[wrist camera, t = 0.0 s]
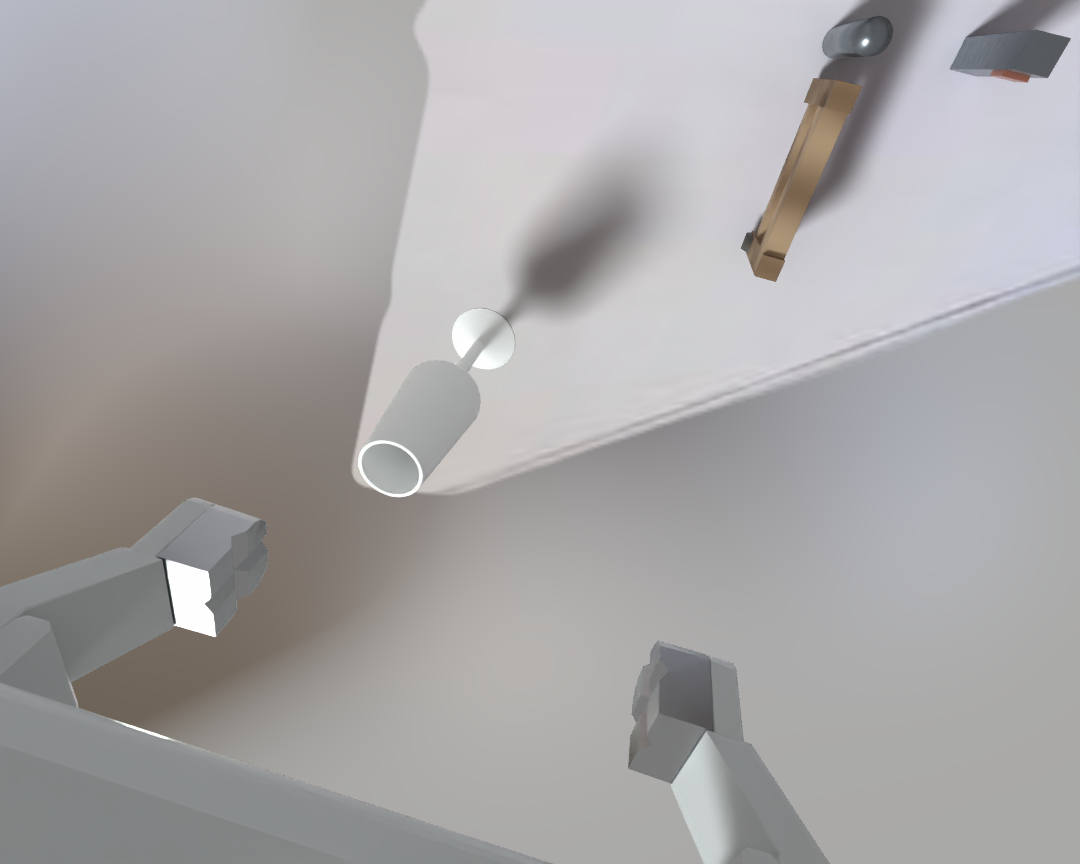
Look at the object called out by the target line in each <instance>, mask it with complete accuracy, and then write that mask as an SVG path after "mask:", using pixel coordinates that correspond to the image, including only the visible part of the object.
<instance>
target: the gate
mask: <svg viewBox="0 0 1080 864" xmlns="http://www.w3.org/2000/svg"><path fill="white" fill-rule="evenodd" d="M861 88H862V86H859V85H855V84H851V83H847V82H843V81H839V80H830V79H816V78H813V81H812V83H811V86H810V88H809V91H808V93H807V96H806V98H805V101H804V102H805V103H809V105H808V107H807V109H806V112H805V114H804V117H803V119H802V122H801V124H800V127H799V129H798V132H797V134H796V137H795V139H794V142H793V144H792V146H791V149H790V151H789V154H788V156H787V159H786V161H785V164H784V166H783V169H782V171H781V174H780V176H779V179H778V181H777V183H776V186H775V188H774V191H773V193H772V196H771V198H770V201H769V203H768V206H767V208H766V211H765V213H764V216H763V218H762V220H761V223H760V225H759V228H758V230H757V232H755V231H752V233H747V234H746V236H745V239H744V241H743V244H742V246H741V249H742V250H744V251H746V253H747V256H748V259H749V262H750V264H751V267H752V270H753V272H754V275H755V276H756V277H760V278H764V279H767V280H771V281H775V282H776V280H777V278H778V276H779V273H780V271H781V269H782V267H783V264H784V262H785V260H784V258H785V256H786V254H787V251H788V249H789V247H790V244H791V242H792V240H793V238H794V235H795V233H796V231H797V229H798V226H799V224H800V222H801V219H802V217H803V215H804V213H805V210H806V208H807V206H808V204H809V201H810V199H811V197H812V195H813V192H814V190H815V188H816V185H817V183H818V181H819V179H820V176H821V174H822V172H823V170H824V167H825V165H826V163H827V160H828V158H829V156H830V154H831V151H832V149H833V147H834V145H835V142H836V140H837V138H838V135H839V133H840V131H841V129H842V126H843V124H844V122H845V120H846V117H847V115H848V114H850V113H851V111H852V108H853V106H854V104H855V102H856V99H857V97H858V95H859V92H860V90H861Z"/></svg>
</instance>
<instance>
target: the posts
mask: <svg viewBox="0 0 1080 864" xmlns="http://www.w3.org/2000/svg"><path fill="white" fill-rule="evenodd" d="M892 34H893V28H892V24H891V22H890V21H889V20H888V19H887V18H885V17H882V16H876V17H872V18H868V19H864V20H860V21H857V22H853V23H849V24H845V25H841V26H837V27H835V28H833V29H831V30H830V31H829V32H828V33H827V34H826V36H825V37H824V40H823V44H822V48H823V52H824V54H825V55H826V56H827V57H829V58H848V57H864V56H874V55H877V54H879V53H880V52H882V51H883V50H884V49H885V48H886V47H887V46H888V44H889V43H890V41H891V38H892ZM1070 39H1071V38H1067V37H1063V36H1059V35H1055V34H1051V33H1047V32H1043V31H1039V30H1029V31H1019V32H1010V33H1001V34H991V35H982V36H973V37H966V38H965V40H964V42H963V44H962V46H961V48H960V50H959V52H958V54H957V56H956V58H955V60H954V62H953V64H952V66H951V68H950V69H951V70H955V71H959V72H963V73H967V74H970V75H974V76H989V77H998V78H1001V79H1005V80H1009V81H1013V82H1028V80H1029V78H1048V77H1049V75H1050V73H1051V72H1052V70H1053V68H1054V67H1055V65H1056V63H1057V61H1058V60H1059V58H1060V56H1061V55H1062V53H1063V51H1064V49H1065V48H1066V46H1067V44H1068V43H1069V41H1070Z"/></svg>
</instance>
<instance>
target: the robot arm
mask: <svg viewBox="0 0 1080 864" xmlns="http://www.w3.org/2000/svg"><path fill="white" fill-rule="evenodd" d="M266 535H267V526H266V522H265V521H263V520H261V519H258V518H255V517H253V516H250V515H247V514H244V513H241V512H238V511H235V510H232V509H229V508H226V507H223V506H220V505H216V504H213V503H210V502H207V501H204V500H201V499H198V498H194V497H193V498H191V499H188V500H186V501H184V502H183V503H182V504H181V505H179V506H178V507H177V508H176V509H175V510H174V511H172V512H171V513H170V514H169V515H168V516H167V517H166V518H164V519H163V520H162V521H161V522H160V523H159V524H157V525H156V526H155V527H154V528H153V529H152V530H151V531H149V532H148V533H147V534H146V535H145V536H144V537H143V538H141V539H140V540H139V541H138V542H137V543H136V544H135V545H133V546H132V547H131V548H130V549H128V548H125V547H121V548H118V549H114V550H111V551H108V552H105V553H102V554H99V555H96V556H93V557H90V558H87V559H84V560H81V561H78V562H75V563H72V564H68V565H65V566H62V567H59V568H56V569H53V570H50V571H47V572H44V573H41V574H38V575H35V576H32V577H29V578H26V579H23V580H20V581H16V582H13V583H11V584H7V585H4V586H1V587H0V864H552V863H549V862H545V861H542V860H539V859H536V858H533V857H530V856H527V855H524V854H521V853H518V852H515V851H512V850H509V849H506V848H503V847H500V846H497V845H494V844H491V843H488V842H485V841H481V840H478V839H476V838H473V837H469V836H466V835H464V834H461V833H457V832H454V831H451V830H448V829H445V828H442V827H439V826H436V825H433V824H430V823H427V822H424V821H421V820H418V819H415V818H411V817H409V816H406V815H403V814H400V813H397V812H394V811H391V810H387V809H384V808H382V807H379V806H375V805H372V804H369V803H366V802H363V801H360V800H357V799H354V798H351V797H348V796H345V795H342V794H339V793H336V792H333V791H330V790H327V789H324V788H320V787H317V786H314V785H311V784H308V783H305V782H302V781H299V780H296V779H293V778H290V777H287V776H284V775H281V774H278V773H275V772H272V771H269V770H265V769H262V768H260V767H257V766H254V765H250V764H247V763H244V762H241V761H238V760H235V759H232V758H229V757H226V756H223V755H220V754H217V753H214V752H211V751H208V750H205V749H201V748H199V747H196V746H192V745H190V744H186V743H184V742H180V741H177V740H174V739H171V738H168V737H165V736H162V735H159V734H156V733H153V732H150V731H147V730H144V729H141V728H138V727H135V726H132V725H129V724H126V723H122V722H120V721H117V720H114V719H110V718H107V717H104V716H101V715H98V714H95V713H92V712H89V711H86V710H83V709H80V708H78V702H77V699H76V696H75V694H74V691H73V688H72V685H71V682H73V681H75V680H77V679H79V678H80V677H82V676H84V675H86V674H88V673H89V672H92V671H94V670H95V669H97V668H99V667H101V666H103V665H105V664H107V663H108V662H110V661H112V660H114V659H116V658H118V657H120V656H122V655H124V654H125V653H127V652H129V651H131V650H133V649H135V648H136V647H138V646H140V645H142V644H144V643H146V642H148V641H150V640H152V639H154V638H155V637H157V636H159V635H161V634H163V633H165V632H167V631H168V630H170V629H172V628H174V625H176V626H179V627H183V628H186V629H190V630H194V631H197V632H201V633H204V634H207V635H211V636H214V637H216V636H217V635H218V633H219V632H220V631H221V630H222V629H223V627H224V626H225V625H226V624H227V622H228V621H229V620H230V619H231V618H232V616H233V615H234V614H235V613H236V611H237V603H236V602H237V601H236V600H238V599H240V598H243V597H245V596H248V595H250V594H251V593H252V592H253V590H254V589H255V588H256V587H257V585H258V584H259V583H260V581H261V578H262V576H263V574H264V572H265V570H266V566H267V562H268V550H267V548H266V547H265V546H264V544H263V543H262V539H263V538H264V537H265V536H266ZM632 715H633V717H634V719H635V721H636V725H635V727H634V729H633V731H632V733H631V735H630V747H629V748H630V749H629V763H628V768H629V769H631V770H634V771H637V772H640V773H643V774H645V775H649V776H651V777H654V778H657V779H660V780H663V781H666V782H668V783H671V788H672V790H673V792H674V794H675V797H676V799H677V802H678V804H679V806H680V809H681V811H682V813H683V816H684V818H685V820H686V823H687V825H688V827H689V829H690V832H691V834H692V837H693V839H694V841H695V844H696V846H697V848H698V851H699V853H700V855H701V858H702V860H703V862H704V864H830V863H829V862H828V860H827V859H826V857H825V856H824V854H823V853H822V851H821V850H820V848H819V847H818V845H817V843H816V842H815V840H814V839H813V837H812V836H811V834H810V833H809V831H808V830H807V828H806V827H805V825H804V824H803V822H802V821H801V819H800V818H799V816H798V814H797V813H796V812H795V810H794V809H793V807H792V805H791V804H790V802H789V801H788V799H787V798H786V796H785V795H784V793H783V792H782V790H781V789H780V787H779V785H778V784H777V783H776V781H775V779H774V778H773V776H772V775H771V773H770V772H769V770H768V769H767V767H766V766H765V764H764V763H763V761H762V760H761V758H760V757H759V755H758V754H757V752H756V751H755V749H754V747H753V746H752V744H750V743H747V742H744V739H743V731H742V721H741V710H740V701H739V691H738V682H737V673H736V667H735V666H734V664H733V663H731V662H727V661H724V660H721V659H718V658H714V657H711V656H706V655H705V654H701V653H698V652H695V651H692V650H688V649H685V648H681V647H678V646H675V645H671V644H667V643H664V642H661V641H657V642H656V643H655V644H654V646H653V648H652V650H651V652H650V664H648V665H646V666H643V668H642V671H641V673H640V675H639V677H638V681H637V684H636V687H635V691H634V697H633V705H632Z"/></svg>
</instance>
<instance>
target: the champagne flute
mask: <svg viewBox="0 0 1080 864" xmlns="http://www.w3.org/2000/svg"><path fill="white" fill-rule="evenodd" d="M452 339H453V343H454V347H455V349H456V351H457V352H458V354H459V355H460V356H461V357H462V359H461V361H460V362H459V363H458V365H456V364H454V363H452V362H448V361H442V360H432V361H427V362H424V363H422V364H420V365H418V366H416V367H415V368H414V369H413V370H412V371H411V372H410V373H409V374H408V376H407V378H406V379H405V381H404V382H403V384H402V386H401V387H400V389H399V391H398V392H397V394H396V395H395V397H394V399H393V400H392V402H391V403H390V405H389V407H388V408H387V410H386V411H385V413H384V415H383V416H382V418H381V419H380V421H379V423H378V424H377V426H376V428H375V429H374V431H373V432H372V434H371V436H370V437H369V439H368V440H367V442H366V444H365V445H364V447H363V448H362V450H361V452H360V454H359V457H358V465H359V469H360V472H361V474H362V476H363V478H364V479H365V480H366V481H367V483H368V484H369V485H370V486H372V487H373V488H374V489H376V490H377V491H379V492H381V493H383V494H385V495H389V496H393V497H404V496H409V495H411V494H413V493H414V492H415V491H417V490H418V489H419V487H420V486H421V485H422V484H423V482H424V481H425V480H426V479H427V478H428V476H429V475H430V474H431V473H432V472H433V470H434V469H435V468H436V467H437V465H438V464H439V463H440V462H441V461H442V459H443V458H444V457H445V456H446V454H447V453H448V452H449V451H450V450H451V448H452V447H453V446H454V445H455V443H456V442H457V441H458V440H459V439H460V437H461V436H462V435H463V434H464V433H465V431H466V430H467V429H468V428H469V426H470V425H471V424H472V423H473V421H474V420H475V419H476V417H477V415H478V413H479V408H480V393H479V390H478V387H477V385H476V383H475V381H474V379H473V378H472V377H471V375H470V374H469V373H468V371H469V370H470V368H471V367H472V366H474V367H477V368H481V369H494V368H498V367H500V366H502V365H504V364H505V363H506V362H507V361H508V360H509V359H510V357H511V356H512V354H513V352H514V347H515V338H514V333H513V331H512V328H511V327H510V325H509V324H508V322H507V321H506V320H505V319H504V318H503V317H502V316H501V315H499V314H498V313H496V312H494V311H492V310H488V309H482V308H477V309H471V310H468V311H466V312H465V313H463V314H462V315H461V316H460V317H459V318H458V319H457V320H456V322H455V324H454V327H453V332H452Z"/></svg>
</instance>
